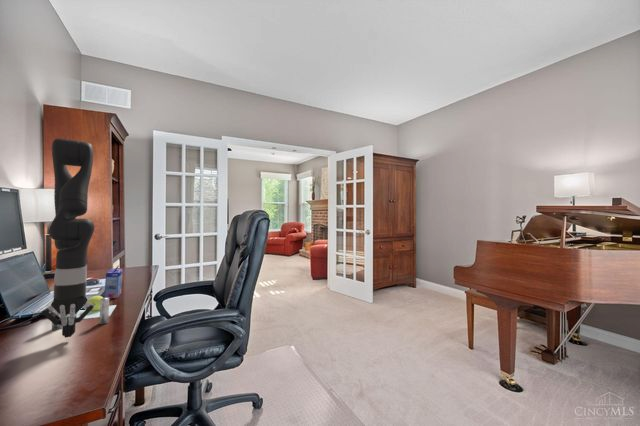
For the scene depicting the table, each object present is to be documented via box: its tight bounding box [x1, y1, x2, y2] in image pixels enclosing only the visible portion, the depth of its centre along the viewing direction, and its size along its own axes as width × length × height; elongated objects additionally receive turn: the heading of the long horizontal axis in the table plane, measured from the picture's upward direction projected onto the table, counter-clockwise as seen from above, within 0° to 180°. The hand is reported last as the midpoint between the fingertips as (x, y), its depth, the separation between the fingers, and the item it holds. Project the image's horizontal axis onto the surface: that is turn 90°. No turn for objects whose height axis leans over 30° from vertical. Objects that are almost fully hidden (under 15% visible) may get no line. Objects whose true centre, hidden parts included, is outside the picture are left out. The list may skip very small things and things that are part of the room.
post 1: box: [51, 309, 62, 331], centre depth 95 cm, size 3×3×9 cm
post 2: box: [98, 297, 110, 325], centre depth 101 cm, size 3×3×9 cm
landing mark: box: [77, 304, 117, 320], centre depth 111 cm, size 14×14×1 cm
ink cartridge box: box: [103, 265, 124, 299], centre depth 133 cm, size 10×6×14 cm, turn 27°
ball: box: [87, 295, 104, 311], centre depth 113 cm, size 6×6×6 cm
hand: (68, 336), depth 87 cm, fingers closed
